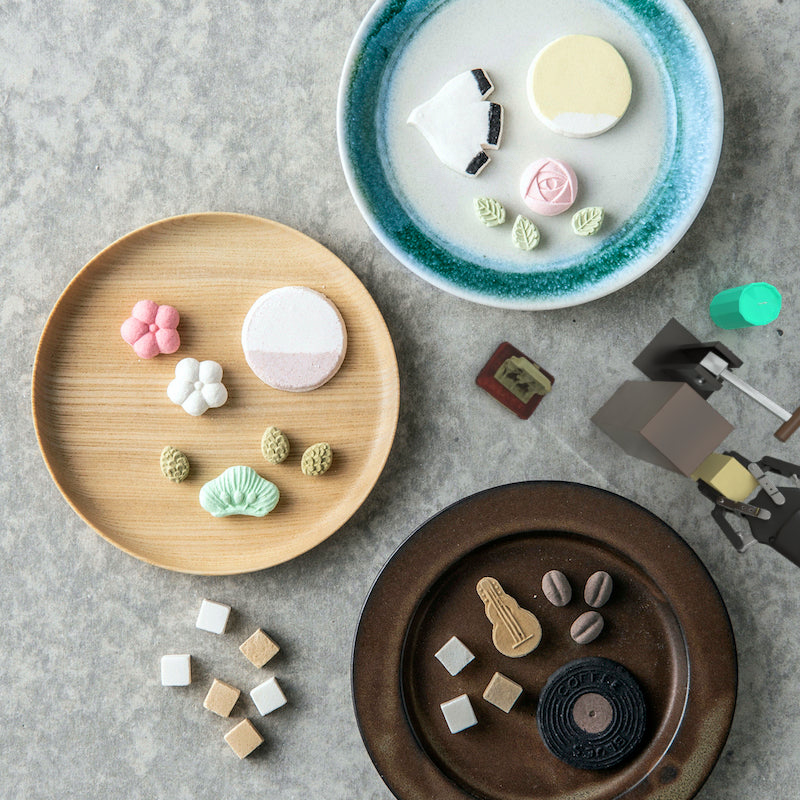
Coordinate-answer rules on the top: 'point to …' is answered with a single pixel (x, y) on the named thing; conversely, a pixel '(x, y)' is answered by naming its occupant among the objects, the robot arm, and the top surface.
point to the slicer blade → (754, 396)
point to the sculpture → (514, 380)
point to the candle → (746, 306)
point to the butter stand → (663, 424)
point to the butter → (726, 476)
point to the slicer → (683, 359)
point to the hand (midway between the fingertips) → (712, 468)
